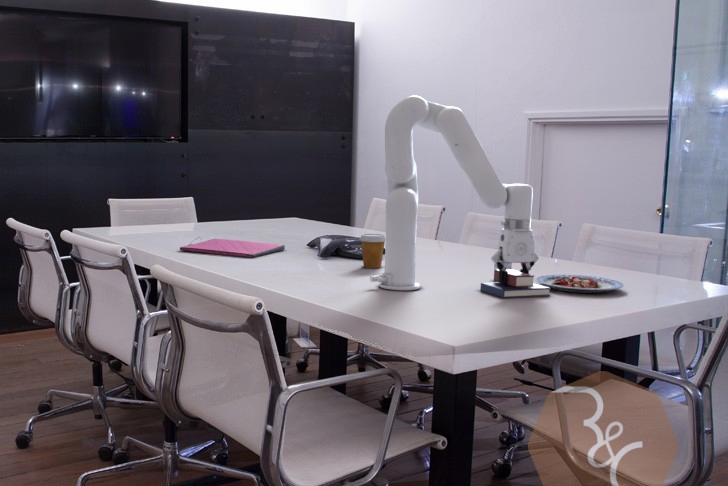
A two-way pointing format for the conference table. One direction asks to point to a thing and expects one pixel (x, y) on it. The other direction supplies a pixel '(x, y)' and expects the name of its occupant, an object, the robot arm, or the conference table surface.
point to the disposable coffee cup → (372, 249)
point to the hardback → (514, 290)
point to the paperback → (516, 278)
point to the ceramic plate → (579, 283)
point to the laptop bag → (233, 248)
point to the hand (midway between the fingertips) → (513, 282)
